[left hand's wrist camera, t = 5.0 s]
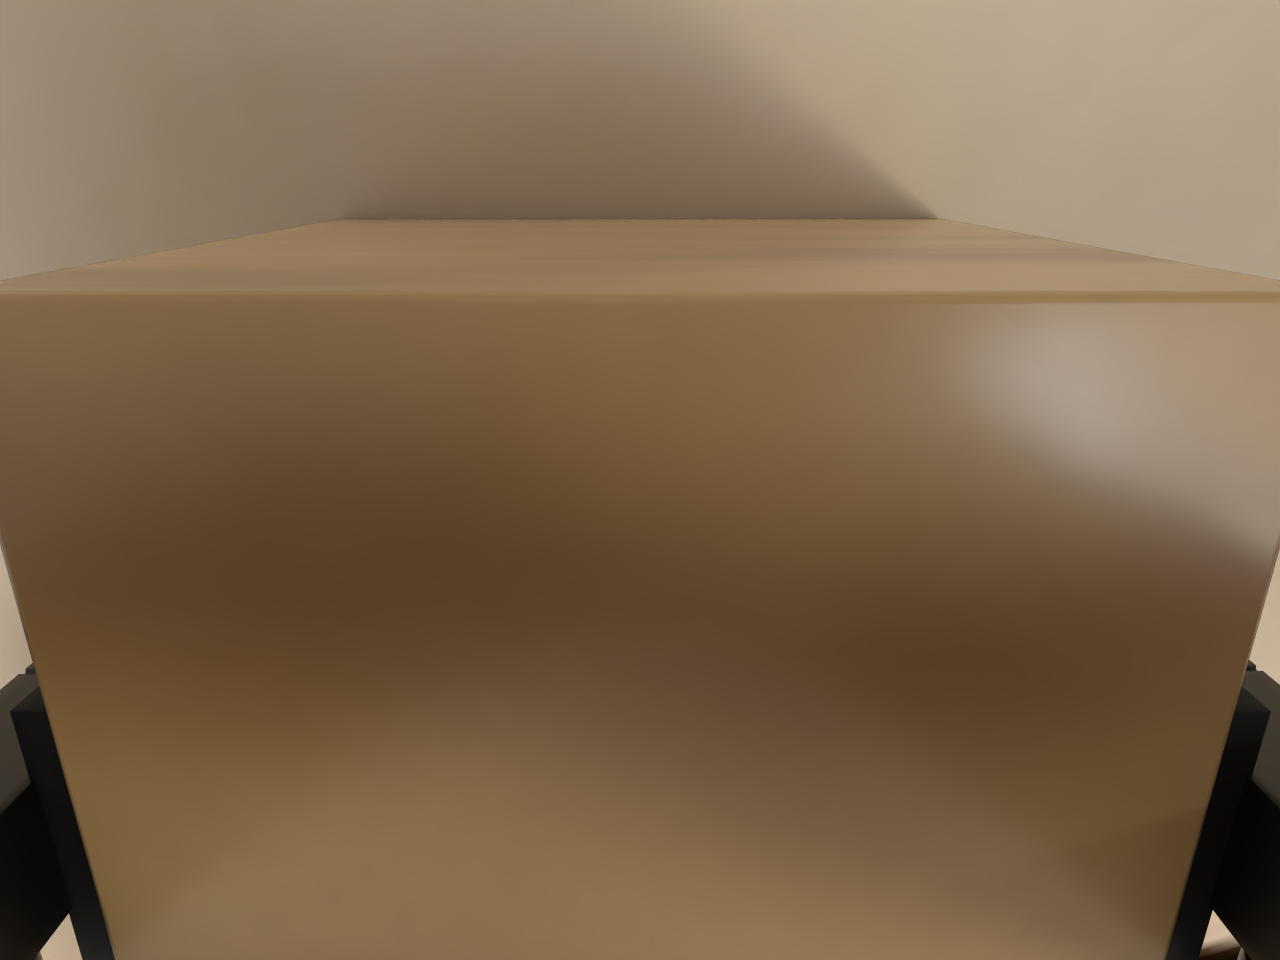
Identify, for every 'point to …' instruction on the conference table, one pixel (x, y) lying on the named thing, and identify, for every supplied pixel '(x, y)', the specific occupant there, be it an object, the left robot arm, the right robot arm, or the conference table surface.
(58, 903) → the left robot arm
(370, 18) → the conference table surface
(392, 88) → the conference table surface
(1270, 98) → the conference table surface
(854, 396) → the wide beam
